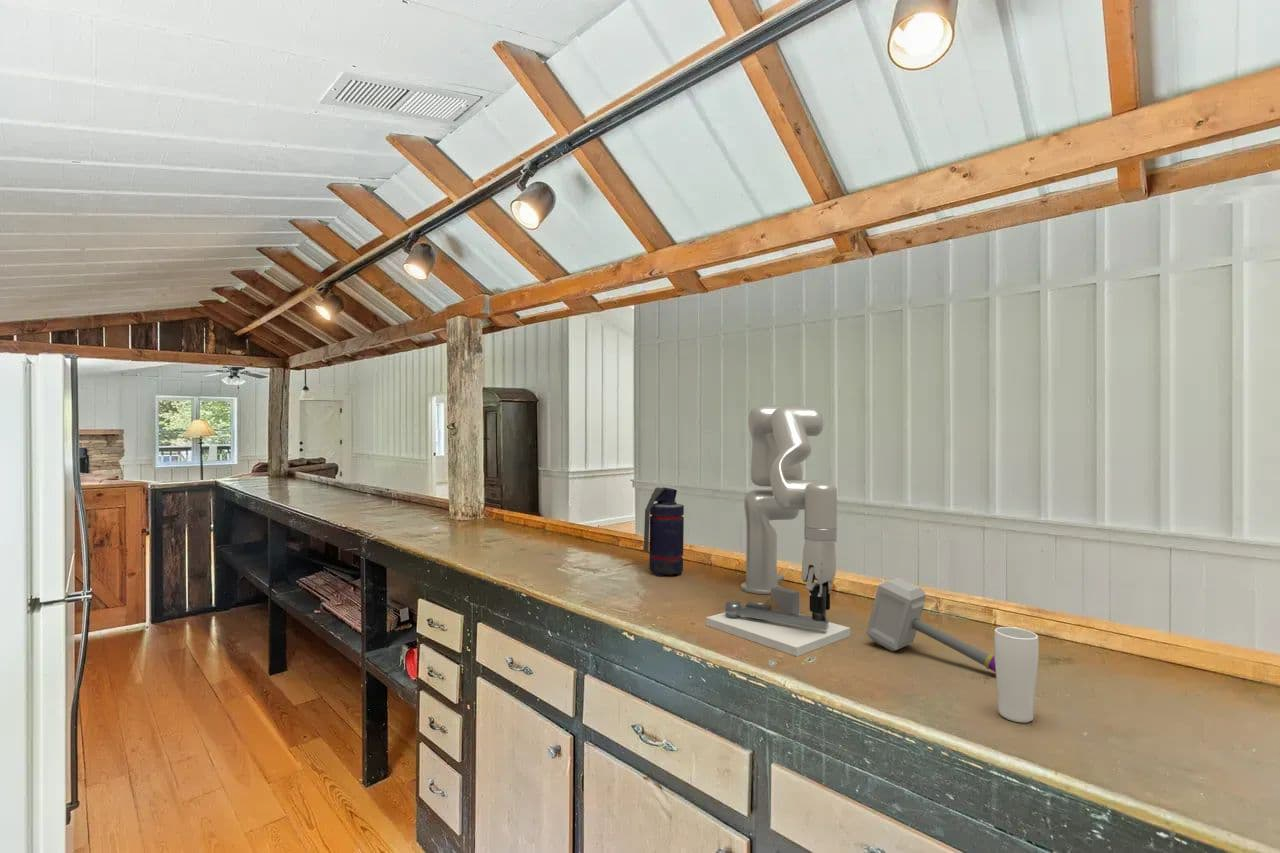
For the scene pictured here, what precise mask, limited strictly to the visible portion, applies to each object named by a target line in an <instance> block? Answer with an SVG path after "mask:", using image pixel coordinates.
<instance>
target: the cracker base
mask: <svg viewBox="0 0 1280 853" xmlns="http://www.w3.org/2000/svg"><path fill="white" fill-rule="evenodd" d="M770 599H772V600H774V601H776V603H777V604H778V611H780V612H787V613H793V614H799V615H803V614H801V613H800V591H797V590H793V589H790V588H789V589H788V588H785V587H782V586H781V587H774V588H771V594H770ZM763 603H764V602H758V603H757V604H763ZM804 615H805V616H807V615H806V614H804ZM705 626H707V627H710V628H713V629H716V630H719V631H722V632H724V633H728V634H730V635H733V636H736V637H739V638H741V639H744V640H745V639H746V640H748V641H751V642H753V643H756V644H760V645H763V646H765V647H769V648H771V649H774V650H777V651H779V652H783V653H786V654H789V655H791V656H793V657H794V656H795V657H800V656H802V655H804V654H805V655H806V654H807V653H809V652H812V651H815V650H817V649H820V648H823V647H825V646H828V645H830V644H833V643H836V642H838V641H841V640H843V639H846V638H849V637H851V627H848V626H845V625H841V624H838V623H833V622H830V621H828V629H827V630H822V629H816V628H810V627H804V626H798V625H792V624H786V623H780V622H775V621H769V620H763V619H757V618H751V617H745V616H740V617H729V616H726V615H725V612H721V613H718V614H714V615H710V616H706V617H705Z"/></svg>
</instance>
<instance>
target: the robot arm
mask: <svg viewBox="0 0 1280 853" xmlns="http://www.w3.org/2000/svg"><path fill="white" fill-rule="evenodd" d="M747 423H748V430H749V434H750V438H751V458H750V460H751V461H750V480H751V483H752V484H753V485H755V486H758V487H764V488H765V487H767V488H768V487H771V489H755V490H754V489H753V490H750V491H748V492H747V493H746V494H745V496H744V499H743V508H744V515H745V530H746V545H745V546H746V549H745V550H746V552H745V556H746V557H745V559H746V561H745V562H746V564H745V566H746V567H745V568H746V569H745V582H742V583H740V588H741V590H742V591H744V592H748V593H751V594H757V595H771V588H774V587H782V586H781V585H780V584H779V582H780V581H783V580H785V579H786V578H785V575H784V574H783V573H780V574H779V573H777V567H778V566H777V565H778V564H777V563H778V562H777V561H778V555H777V553H778V535H777V532H776V530H775V528H774V526H773V525H772V524H771V523H770V521H789V520H790V521H791V520H794V519H796V518H797V517H798V516H799V513H800V510H802V511H803V510H804V520H803V521H804V526H803V527H804V532H803V533H804V535H803V536H804V537H803V538H804V539H803V540H804V545H803V551H802V562H801V563H802V564H801V581H802V582H803V583H806V584H805V587H806V588H807V590H808V595H809V612H811V613H812V612H815V613H820V614H822V613H823V597H822V585H825V586H826V611H829V610H830V609H831V590H832V588H831V586H832V585H831V584H832V582H833V580H834V579H835V577H836V573H837V572H836V571H837V570H836V569H837V568H836V567H837V564H836V563H837V560H836V557H837V556H836V544H835V543H837V539H838V533H837V531H838V528H837V527H838V526H837V523H838V522H837V521H838V490H837V487H836V485H834V484H832V483H827V481H824V480H820V479H819V480H818V479H817V480H815V479H814V480H813V479H812V480H811V479H806V480H805V479H803V469H802V464H801V463H803V462H804V461H805V460H807V459H808V458H809V457H810V455H811V453H812V446H811V443H810V441H809V437H818V436H819V435H820V434H822V431H823V429H824V418H823V414H822V413H821V412H820V410H819V409H818V408H817V407H814V406H805V405H785V404H784V405H782V404H765V405H764V404H763V405H756V406H753V407H752V408H750V410H749V413H748V417H747ZM814 585H816V586H818V589H817V587H816V586H814Z"/></svg>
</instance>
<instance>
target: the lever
mask: <svg viewBox="0 0 1280 853" xmlns="http://www.w3.org/2000/svg"><path fill="white" fill-rule="evenodd" d="M814 586H816V585H814ZM816 587H817V589H818V586H816ZM822 597H823V613H822V614H820V613H815V612H811V616H810V615H806V614H802V615H799V614H800V613H799V614H793V613H787V612H780V611H774V610H771V606H770V605H763V604H757V603H755V602H750V601H748V602H747V603H745V605H743V604H742V603H741V602H739V601H735V600H730V601H729V600H728V601H726V602H725V615H726V616H729V617H740V616H745V617H751V618H757V619H763V620H769V621H775V622H780V623H786V624H792V625H798V626H804V627H810V628H816V629H822V630H827V629H828V622H829V618H827V610H826V586H825V585H822ZM805 615H806V616H805Z"/></svg>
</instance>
